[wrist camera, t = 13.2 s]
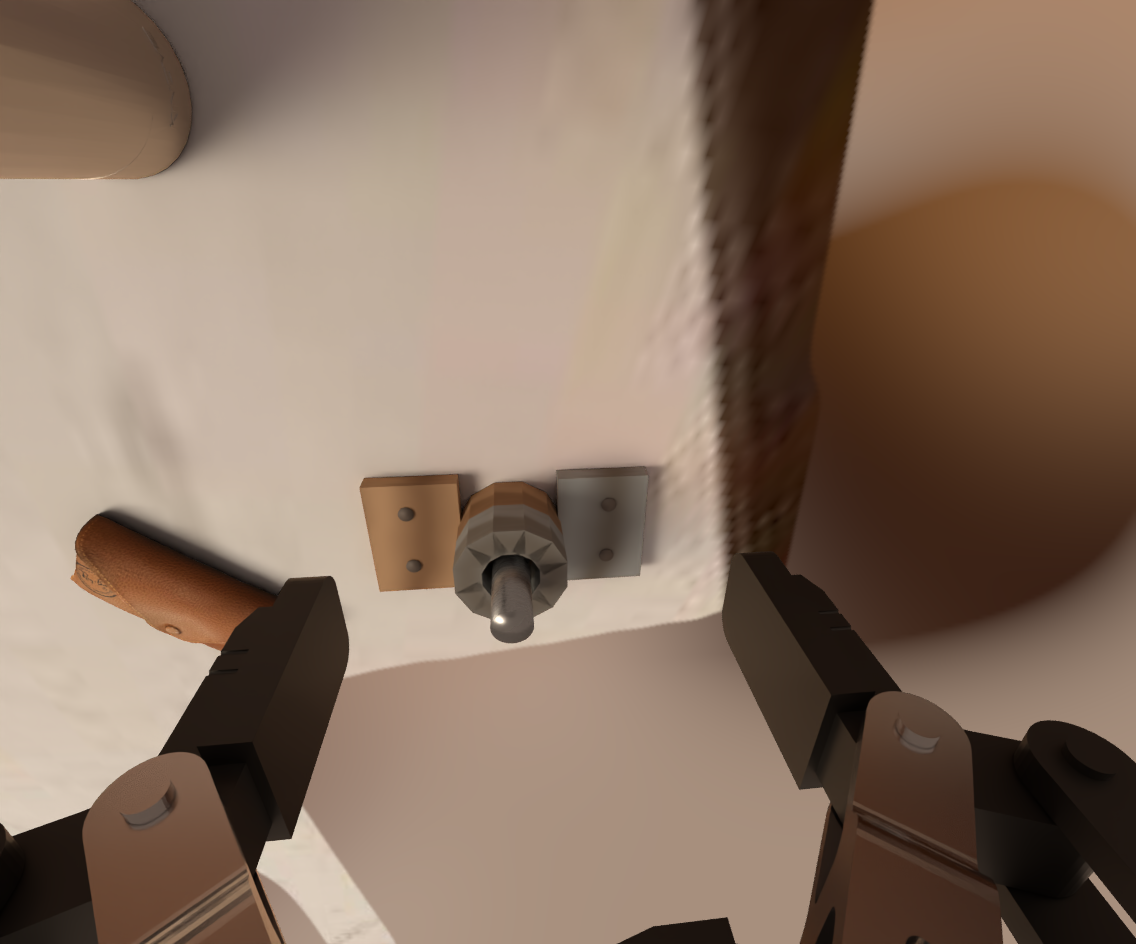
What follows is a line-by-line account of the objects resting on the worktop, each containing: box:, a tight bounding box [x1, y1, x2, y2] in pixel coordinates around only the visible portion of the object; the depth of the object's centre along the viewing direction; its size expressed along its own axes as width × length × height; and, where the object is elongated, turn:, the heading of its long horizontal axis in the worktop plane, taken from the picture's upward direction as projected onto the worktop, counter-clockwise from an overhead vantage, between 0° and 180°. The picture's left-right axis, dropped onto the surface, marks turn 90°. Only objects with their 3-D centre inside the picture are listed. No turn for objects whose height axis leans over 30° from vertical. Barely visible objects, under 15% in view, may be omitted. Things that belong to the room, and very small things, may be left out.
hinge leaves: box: [360, 467, 649, 619], centre depth 43 cm, size 22×10×7 cm, turn 90°
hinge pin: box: [490, 554, 534, 643], centre depth 41 cm, size 3×3×12 cm
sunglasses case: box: [71, 514, 278, 651], centre depth 45 cm, size 18×7×7 cm, turn 51°
